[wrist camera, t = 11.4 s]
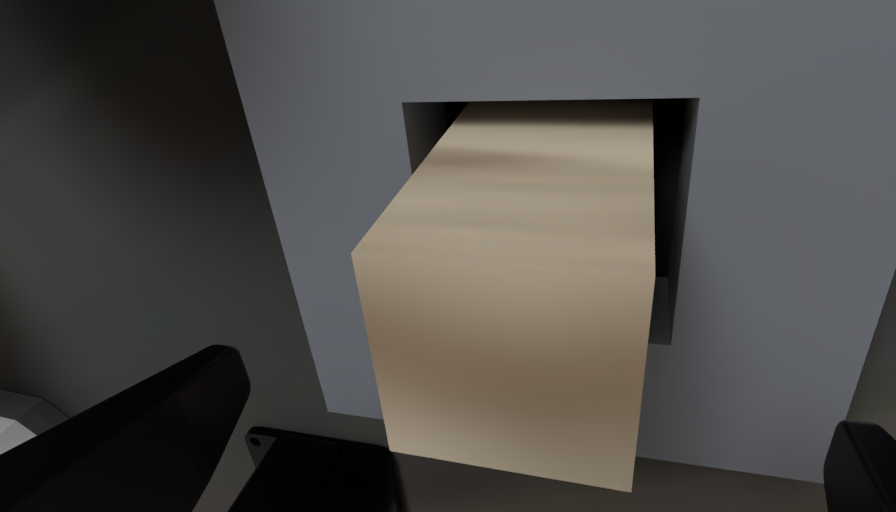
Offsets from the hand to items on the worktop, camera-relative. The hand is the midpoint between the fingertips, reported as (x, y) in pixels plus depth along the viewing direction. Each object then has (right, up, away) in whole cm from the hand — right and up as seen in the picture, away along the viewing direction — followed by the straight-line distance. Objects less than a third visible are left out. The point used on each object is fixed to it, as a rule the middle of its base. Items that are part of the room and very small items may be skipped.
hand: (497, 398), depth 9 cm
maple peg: (+2, +4, +7) cm, 9 cm away
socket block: (+2, +4, +7) cm, 9 cm away
